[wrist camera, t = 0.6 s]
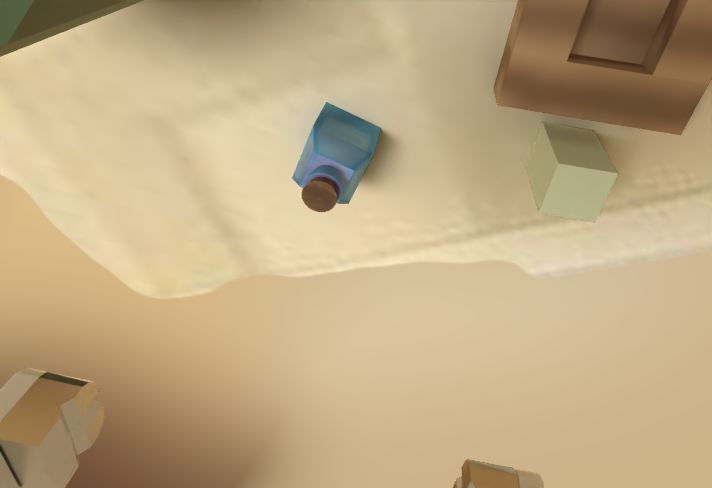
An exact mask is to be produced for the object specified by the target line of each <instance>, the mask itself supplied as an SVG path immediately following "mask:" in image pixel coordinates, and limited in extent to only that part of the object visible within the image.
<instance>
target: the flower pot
mask: <svg viewBox="0 0 712 488" xmlns="http://www.w3.org/2000/svg"><path fill="white" fill-rule="evenodd" d="M140 1H143V0H0V56H3V55H6V54H8V53H11V52H13V51H16V50H18V49H21V48H23V47H26V46H28V45H31V44H34V43H36V42H39V41H41V40H44V39H46V38H49V37H51V36H54V35H56V34H59V33H62V32H64V31H67V30H69V29H72V28H74V27H77V26H79V25H82V24H84V23H87V22H90V21H92V20H95V19H97V18H100V17H102V16H105V15H107V14H110V13H112V12H115V11H118V10H120V9H123V8H125V7H128V6H130V5H133V4H135V3H138V2H140Z"/></svg>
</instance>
